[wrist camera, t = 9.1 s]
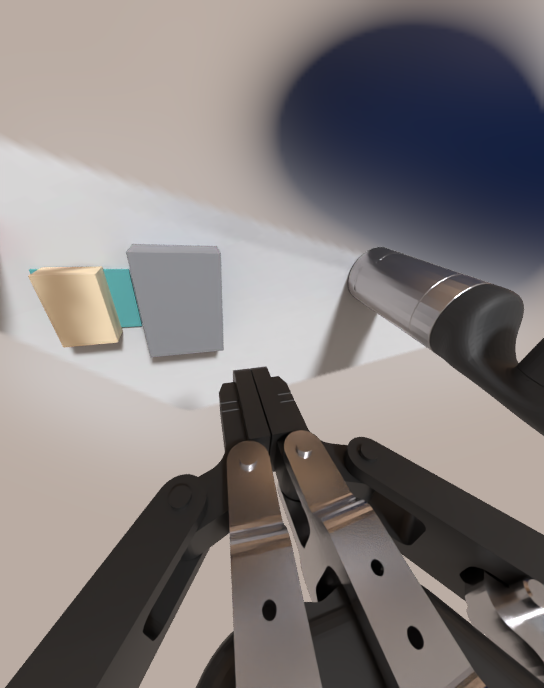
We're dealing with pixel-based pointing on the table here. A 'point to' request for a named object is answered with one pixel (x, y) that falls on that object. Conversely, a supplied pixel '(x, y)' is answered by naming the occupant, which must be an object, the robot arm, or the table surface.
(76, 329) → the maple tile
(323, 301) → the table surface
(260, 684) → the robot arm
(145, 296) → the grey rectangular block
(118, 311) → the teal rubber mat
